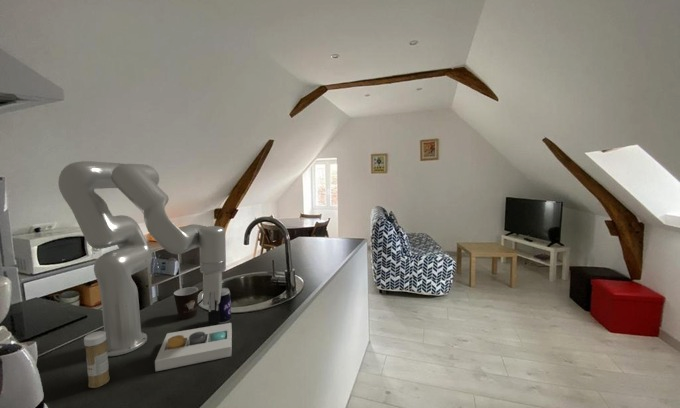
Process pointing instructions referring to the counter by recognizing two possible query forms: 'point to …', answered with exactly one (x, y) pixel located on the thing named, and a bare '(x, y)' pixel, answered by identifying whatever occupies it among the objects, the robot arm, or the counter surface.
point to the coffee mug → (187, 302)
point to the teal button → (217, 336)
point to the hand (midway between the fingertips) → (214, 321)
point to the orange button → (176, 342)
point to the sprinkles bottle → (97, 359)
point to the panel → (195, 348)
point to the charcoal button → (197, 338)
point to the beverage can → (225, 306)
